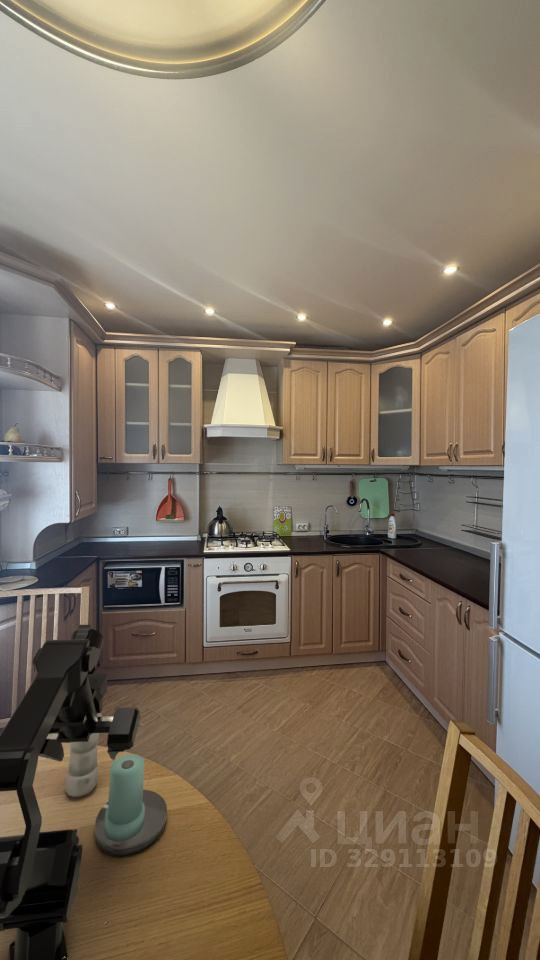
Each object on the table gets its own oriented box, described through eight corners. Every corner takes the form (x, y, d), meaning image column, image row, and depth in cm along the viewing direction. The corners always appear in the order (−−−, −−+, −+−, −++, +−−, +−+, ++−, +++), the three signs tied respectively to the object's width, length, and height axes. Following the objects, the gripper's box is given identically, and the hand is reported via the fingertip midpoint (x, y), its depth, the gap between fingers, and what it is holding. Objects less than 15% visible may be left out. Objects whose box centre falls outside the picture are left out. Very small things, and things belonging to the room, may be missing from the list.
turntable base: (174, 835, 75) (175, 828, 75) (105, 869, 68) (106, 862, 68) (151, 793, 85) (152, 787, 85) (89, 819, 78) (89, 813, 78)
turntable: (177, 828, 75) (177, 821, 75) (104, 864, 67) (105, 856, 67) (153, 785, 85) (153, 779, 85) (87, 812, 78) (88, 805, 78)
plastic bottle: (56, 797, 83) (62, 700, 83) (81, 775, 89) (86, 685, 90) (81, 806, 81) (87, 706, 81) (104, 783, 87) (110, 690, 88)
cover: (149, 829, 73) (152, 768, 73) (109, 848, 69) (113, 783, 69) (137, 804, 79) (140, 747, 79) (99, 820, 75) (103, 760, 75)
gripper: (142, 658, 72) (150, 712, 79) (36, 660, 71) (54, 715, 78) (126, 718, 62) (137, 774, 69) (2, 721, 61) (26, 778, 68)
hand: (88, 757), depth 71 cm, fingers open, 9 cm apart
